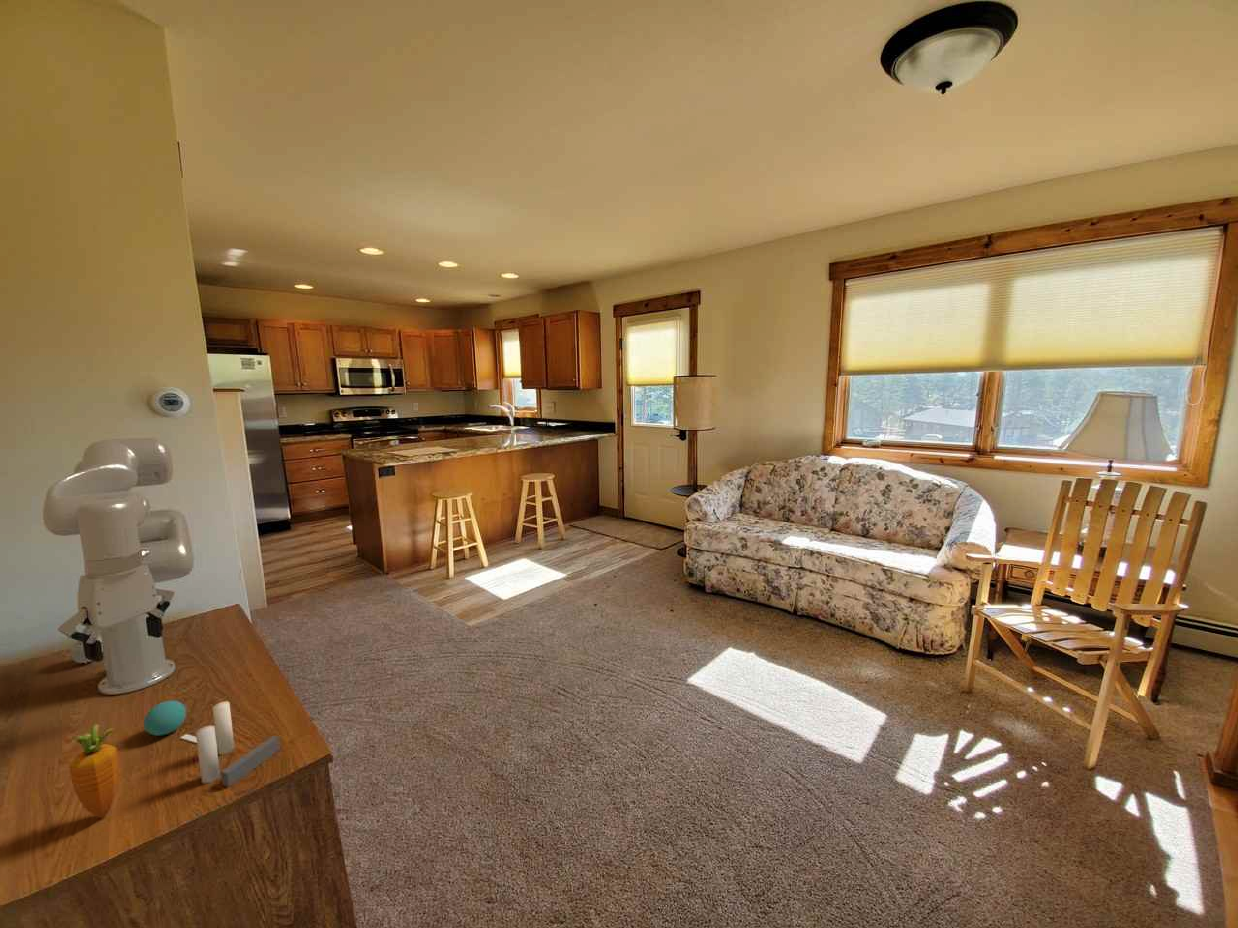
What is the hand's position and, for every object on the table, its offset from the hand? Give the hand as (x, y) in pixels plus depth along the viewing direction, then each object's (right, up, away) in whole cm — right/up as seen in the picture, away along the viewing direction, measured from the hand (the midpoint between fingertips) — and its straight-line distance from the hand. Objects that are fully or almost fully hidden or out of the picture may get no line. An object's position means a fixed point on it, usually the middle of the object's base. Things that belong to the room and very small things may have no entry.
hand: (126, 647), depth 94 cm
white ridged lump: (-33, -13, +24) cm, 43 cm away
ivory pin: (+24, -17, -5) cm, 30 cm away
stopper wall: (+32, -18, -9) cm, 37 cm away
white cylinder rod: (+26, -18, -12) cm, 34 cm away
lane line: (+17, -17, -3) cm, 24 cm away
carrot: (+16, -19, -19) cm, 32 cm away
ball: (+8, -13, -1) cm, 16 cm away
